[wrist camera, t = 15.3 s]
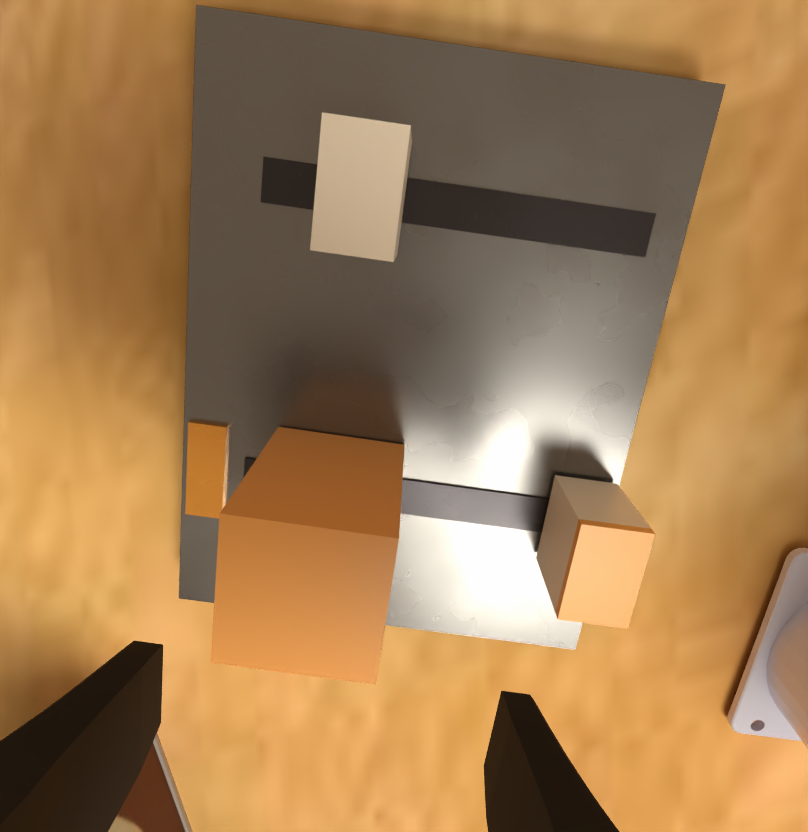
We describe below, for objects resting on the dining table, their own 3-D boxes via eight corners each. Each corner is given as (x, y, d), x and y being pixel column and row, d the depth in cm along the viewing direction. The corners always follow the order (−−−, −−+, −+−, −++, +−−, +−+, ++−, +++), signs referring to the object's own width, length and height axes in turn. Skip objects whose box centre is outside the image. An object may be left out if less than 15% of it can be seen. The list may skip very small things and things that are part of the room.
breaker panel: (700, 95, 18) (729, 83, 16) (565, 623, 23) (576, 653, 21) (214, 23, 17) (193, 2, 16) (193, 574, 23) (176, 601, 21)
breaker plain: (412, 141, 17) (410, 125, 14) (397, 255, 18) (393, 262, 15) (338, 131, 17) (321, 112, 14) (327, 245, 17) (309, 250, 15)
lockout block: (404, 444, 19) (399, 538, 14) (387, 555, 21) (375, 684, 15) (278, 426, 19) (219, 513, 14) (268, 539, 20) (210, 662, 15)
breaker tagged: (617, 483, 20) (655, 534, 16) (595, 565, 20) (627, 628, 17) (555, 475, 19) (581, 524, 16) (535, 557, 20) (557, 619, 17)
